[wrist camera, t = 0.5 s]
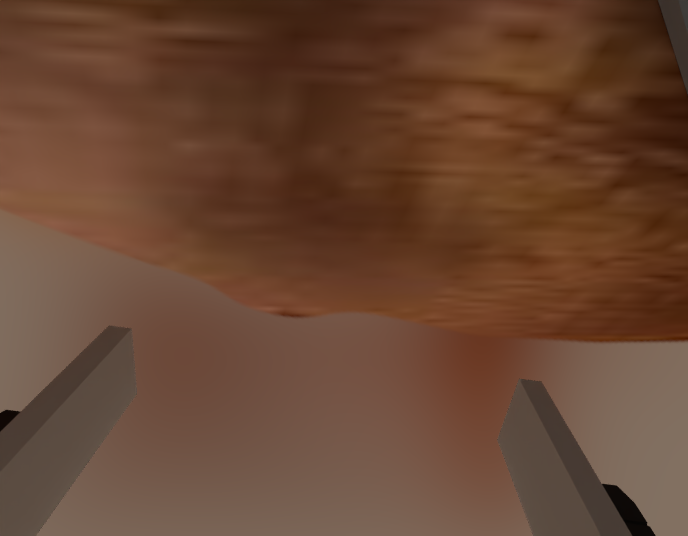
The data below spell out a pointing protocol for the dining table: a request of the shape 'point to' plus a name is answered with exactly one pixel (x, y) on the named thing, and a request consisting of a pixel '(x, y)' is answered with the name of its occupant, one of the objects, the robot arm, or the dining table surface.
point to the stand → (677, 32)
